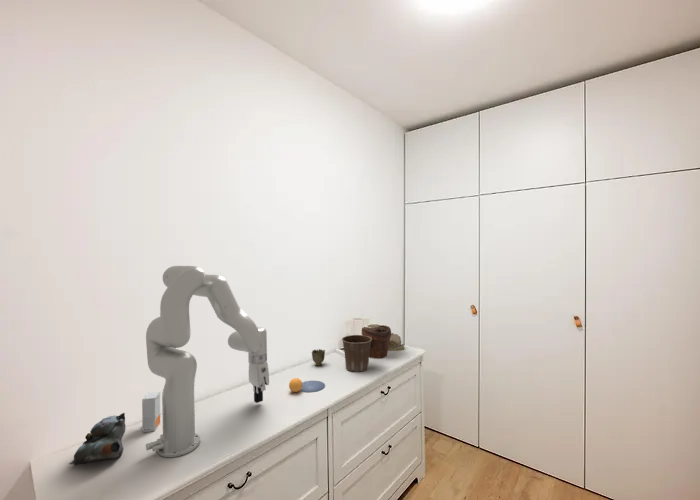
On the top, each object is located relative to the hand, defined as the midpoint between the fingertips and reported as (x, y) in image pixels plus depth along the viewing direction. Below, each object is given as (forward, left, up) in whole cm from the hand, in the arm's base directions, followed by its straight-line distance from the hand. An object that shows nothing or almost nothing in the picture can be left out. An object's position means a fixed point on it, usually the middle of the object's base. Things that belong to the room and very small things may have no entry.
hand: (258, 401), depth 140 cm
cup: (+47, +21, -2) cm, 52 cm away
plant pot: (+59, +2, -2) cm, 59 cm away
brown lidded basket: (+83, +10, -2) cm, 84 cm away
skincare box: (-37, +11, -2) cm, 39 cm away
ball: (+18, 0, +2) cm, 19 cm away
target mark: (+27, 0, -2) cm, 27 cm away
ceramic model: (+101, +12, -2) cm, 102 cm away
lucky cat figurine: (-53, +2, -2) cm, 53 cm away
